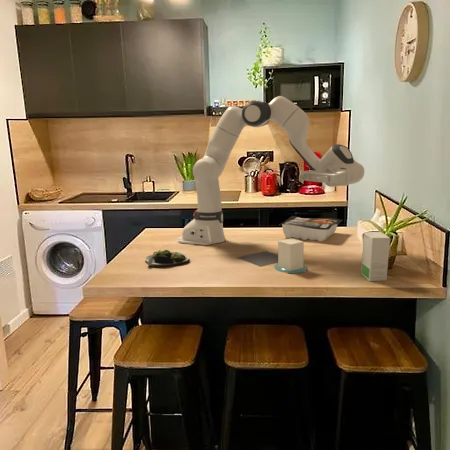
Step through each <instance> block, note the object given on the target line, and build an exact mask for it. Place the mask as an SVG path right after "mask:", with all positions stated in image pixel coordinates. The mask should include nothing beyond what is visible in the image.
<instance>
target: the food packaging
mask: <svg viewBox="0 0 450 450" xmlns="http://www.w3.org/2000/svg"><path fill="white" fill-rule="evenodd" d="M343 220H344V219H340V218H334V217H317V218H313V217H311V218H310V217H309V218H308V217H307V218H306V217H300V216H295V215H291V216H290V217H288V219H286V220H285V221H283V222H282V223H280V225H281V226H282V231H283V234H284V237H285V238H286V239H291V238H292V239H296V240H299V239H301V240H304V241H306V240H309V241H317V242H324V241H325V240H327V239H329V237H331V236H333V235H334V234H335V232H336V230H337V227H338V225H339V224H341V222H343Z"/></svg>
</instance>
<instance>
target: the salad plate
mask: <svg viewBox="0 0 450 450" xmlns="http://www.w3.org/2000/svg"><path fill="white" fill-rule="evenodd" d="M144 260H145V261H146V262H147V265H148V266H151V267H154V268H159V269H160V268H171V267H177V266H178V267H179V266H183V265H187V264H188V263H189V261H190V257H189V256H187V255H186V254H184V253H182V252H179V251H170V250H168V249H165V250H161V249H160V250H158V251H153V253H152V254H151V255H147V256H145V257H144Z"/></svg>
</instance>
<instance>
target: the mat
mask: <svg viewBox="0 0 450 450" xmlns="http://www.w3.org/2000/svg"><path fill="white" fill-rule="evenodd" d="M235 258H236V259H238V260H239V259H240V260H242V261H245V262H247V263H250V264H252V265H255V266H258V267H266V266H270V265H273V264H274V265H276V264H278V254H277V253H276V252H275V253H274V252H271V251H268V250H265V251H260V252H255V253H250V254H246V255H242V256H236V257H235Z"/></svg>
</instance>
